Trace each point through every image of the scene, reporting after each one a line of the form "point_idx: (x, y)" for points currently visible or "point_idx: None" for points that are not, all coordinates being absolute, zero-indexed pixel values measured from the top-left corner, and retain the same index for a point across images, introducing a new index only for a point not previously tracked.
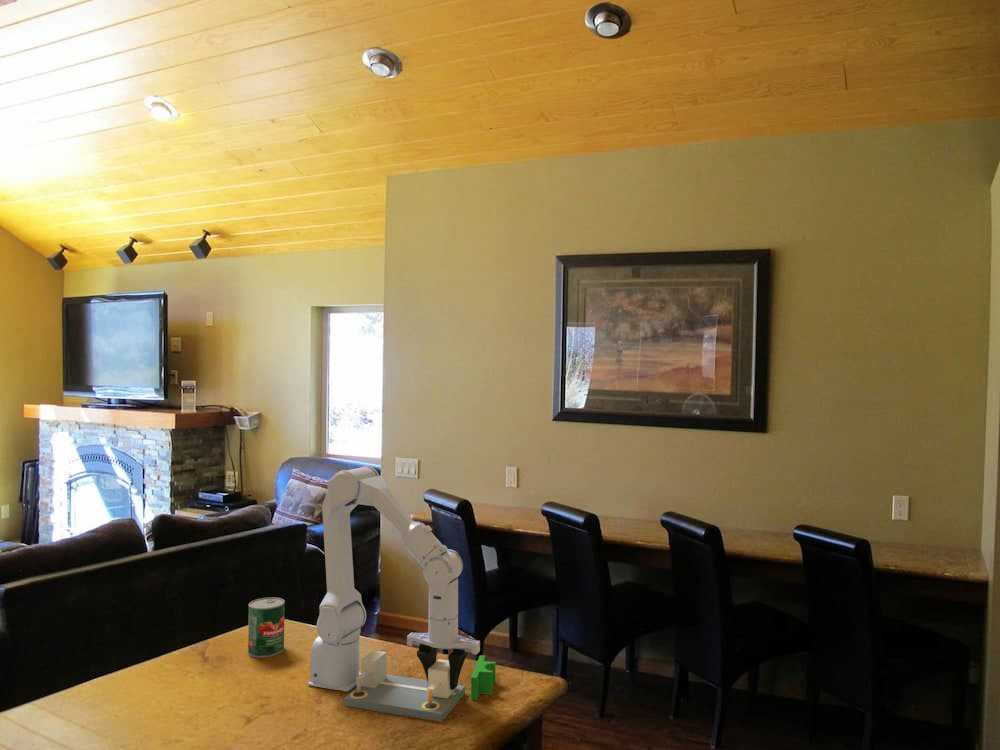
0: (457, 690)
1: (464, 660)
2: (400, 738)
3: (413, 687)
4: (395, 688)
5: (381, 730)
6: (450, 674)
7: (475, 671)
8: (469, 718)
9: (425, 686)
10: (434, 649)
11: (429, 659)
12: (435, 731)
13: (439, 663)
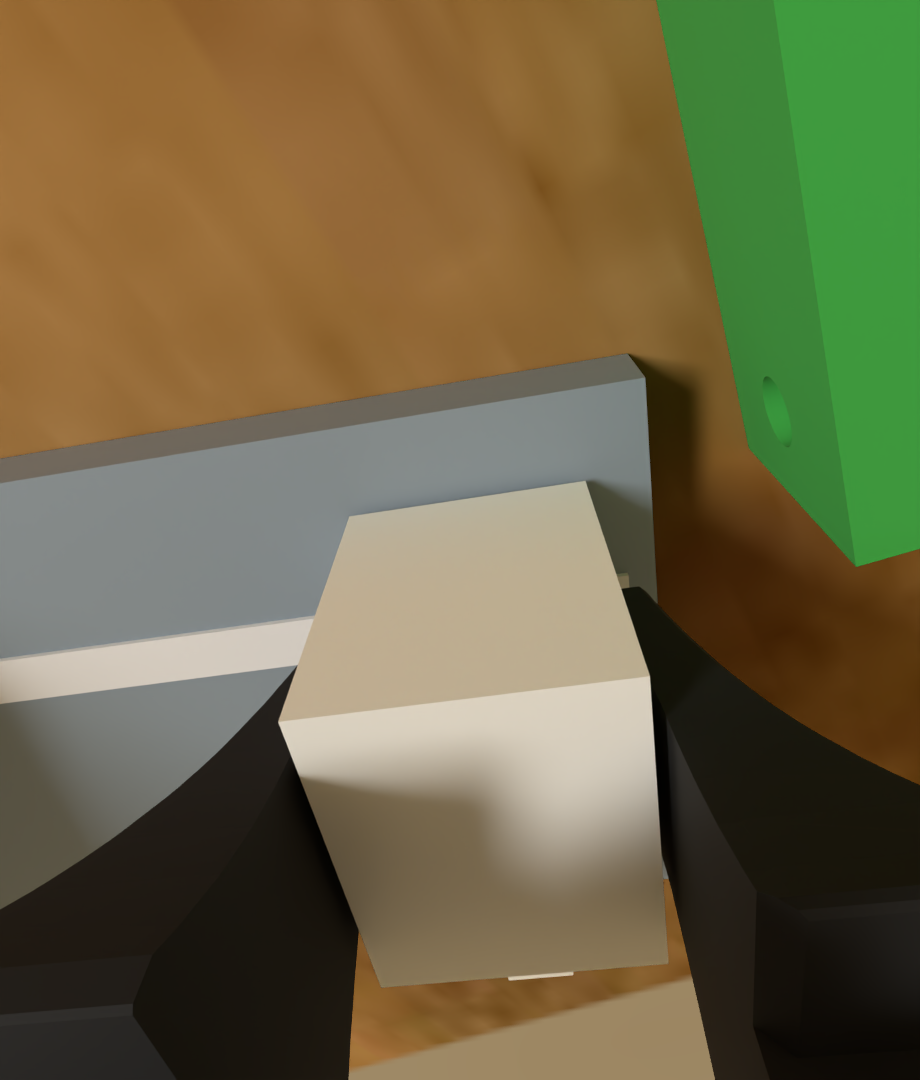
0: (610, 513)
1: (854, 754)
2: (518, 1004)
3: (170, 659)
4: (47, 728)
5: (368, 989)
6: (667, 863)
7: (860, 347)
8: (844, 714)
9: (246, 583)
10: (246, 1056)
11: (334, 1067)
12: (672, 905)
13: (403, 827)
